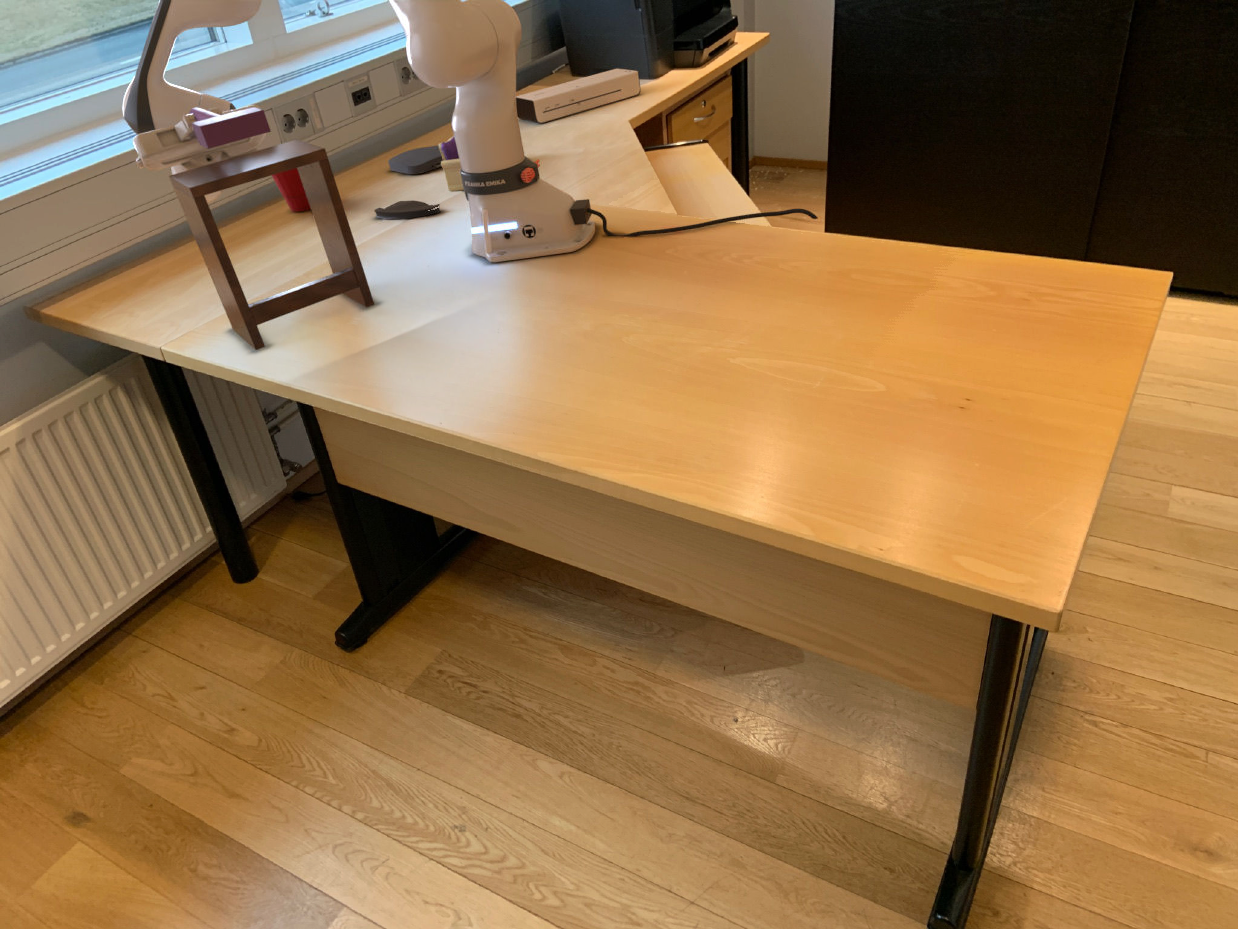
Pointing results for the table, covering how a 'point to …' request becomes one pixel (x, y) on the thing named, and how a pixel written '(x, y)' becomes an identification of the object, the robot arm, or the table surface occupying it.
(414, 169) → the media streaming box
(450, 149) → the toy sofa
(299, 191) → the plastic cup
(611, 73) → the laminator
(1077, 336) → the table surface
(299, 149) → the bench
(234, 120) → the toy hammer
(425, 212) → the black flat piece
